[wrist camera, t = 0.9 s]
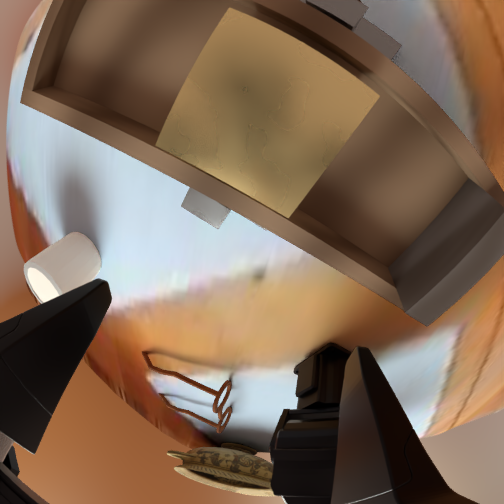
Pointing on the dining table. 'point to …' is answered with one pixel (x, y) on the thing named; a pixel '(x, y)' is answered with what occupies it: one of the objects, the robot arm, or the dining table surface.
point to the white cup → (62, 267)
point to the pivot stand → (347, 14)
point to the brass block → (264, 112)
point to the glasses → (202, 387)
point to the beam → (336, 174)
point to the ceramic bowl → (227, 468)
